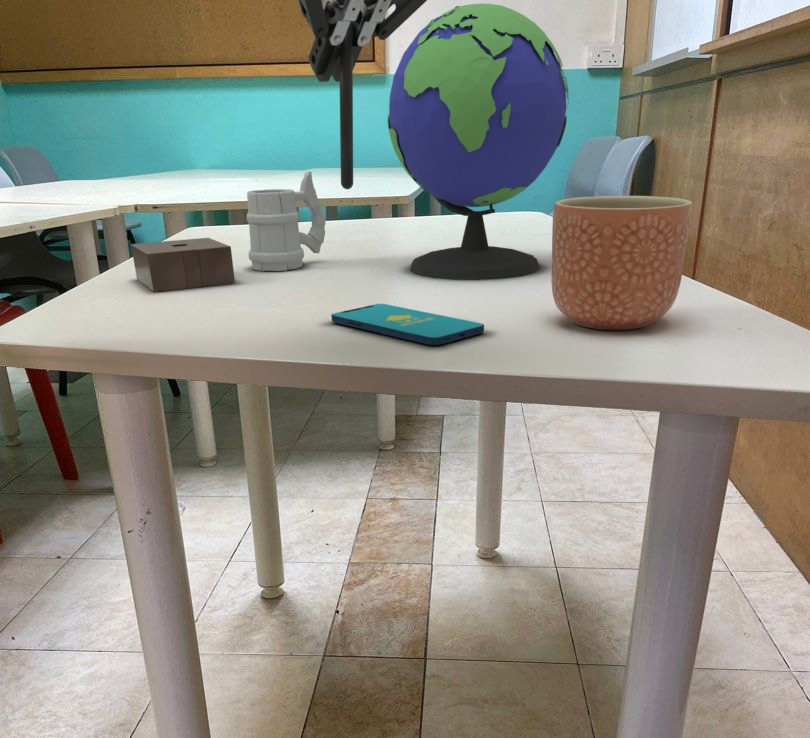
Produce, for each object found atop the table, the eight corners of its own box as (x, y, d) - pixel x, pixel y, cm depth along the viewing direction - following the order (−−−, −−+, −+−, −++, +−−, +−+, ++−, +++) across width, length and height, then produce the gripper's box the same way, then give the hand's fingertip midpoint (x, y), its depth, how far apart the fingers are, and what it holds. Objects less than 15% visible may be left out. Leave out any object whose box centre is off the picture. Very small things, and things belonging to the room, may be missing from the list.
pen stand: (153, 292, 99) (147, 253, 97) (136, 280, 107) (130, 244, 105) (235, 283, 103) (230, 246, 101) (213, 272, 111) (208, 237, 109)
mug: (240, 267, 114) (230, 174, 109) (313, 258, 120) (307, 169, 115) (264, 273, 109) (255, 176, 103) (340, 264, 115) (334, 171, 109)
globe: (369, 280, 103) (356, -3, 89) (417, 253, 122) (413, 17, 108) (545, 285, 97) (561, -17, 83) (567, 256, 116) (584, 6, 102)
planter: (523, 317, 82) (528, 200, 77) (622, 304, 86) (633, 193, 81) (596, 344, 72) (608, 211, 67) (705, 327, 76) (724, 202, 71)
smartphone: (434, 337, 72) (327, 312, 81) (434, 346, 72) (327, 321, 82) (488, 324, 76) (380, 302, 86) (488, 332, 76) (381, 310, 86)
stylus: (344, 190, 71) (341, 12, 64) (338, 188, 72) (336, 13, 65) (355, 189, 72) (354, 13, 65) (350, 188, 72) (348, 13, 66)
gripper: (460, -169, 59) (371, 42, 73) (301, -203, 52) (236, 38, 66) (509, -93, 58) (408, 107, 72) (352, -117, 51) (275, 110, 65)
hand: (326, 74), depth 69 cm, fingers closed on stylus, 1 cm apart
